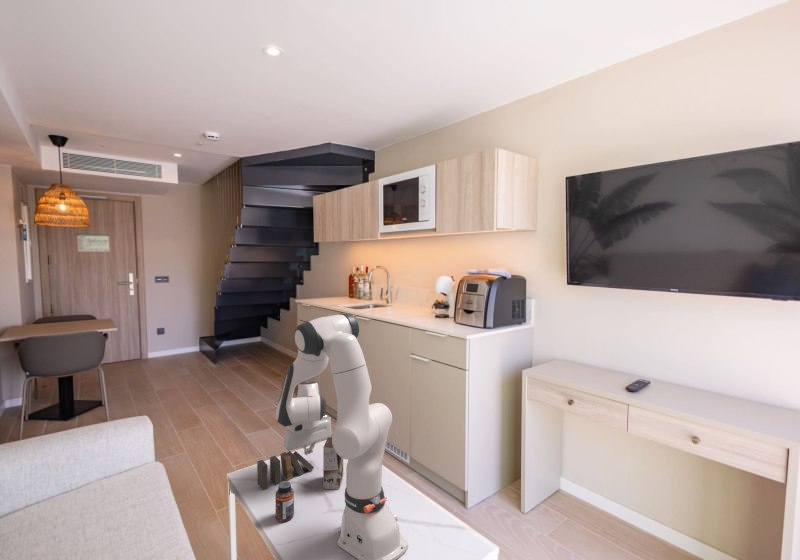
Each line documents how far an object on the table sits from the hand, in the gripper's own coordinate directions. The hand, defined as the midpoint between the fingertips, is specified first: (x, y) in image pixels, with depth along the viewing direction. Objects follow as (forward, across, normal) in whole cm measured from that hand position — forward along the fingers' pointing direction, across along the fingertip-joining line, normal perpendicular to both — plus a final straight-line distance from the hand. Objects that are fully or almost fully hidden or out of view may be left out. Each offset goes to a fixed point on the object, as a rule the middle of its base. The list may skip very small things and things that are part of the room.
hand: (308, 453), depth 161 cm
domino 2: (+7, +14, 0) cm, 16 cm away
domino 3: (+6, +9, 0) cm, 11 cm away
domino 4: (+6, +4, 0) cm, 8 cm away
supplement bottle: (+7, +20, +22) cm, 31 cm away
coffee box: (+7, -3, +15) cm, 17 cm away
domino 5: (+6, 0, 0) cm, 6 cm away
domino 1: (+7, +19, 0) cm, 20 cm away
